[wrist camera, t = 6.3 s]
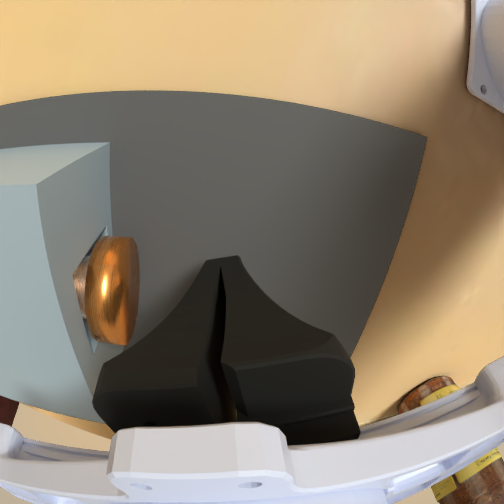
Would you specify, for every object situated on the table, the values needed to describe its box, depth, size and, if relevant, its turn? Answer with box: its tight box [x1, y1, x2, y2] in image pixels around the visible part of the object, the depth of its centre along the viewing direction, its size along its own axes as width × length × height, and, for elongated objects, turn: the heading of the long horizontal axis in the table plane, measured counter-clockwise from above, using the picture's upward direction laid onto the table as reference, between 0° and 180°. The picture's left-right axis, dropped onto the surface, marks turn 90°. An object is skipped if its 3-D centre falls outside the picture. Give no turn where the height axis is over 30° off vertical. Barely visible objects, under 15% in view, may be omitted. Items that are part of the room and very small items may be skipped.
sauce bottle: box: [398, 376, 504, 504], centre depth 14 cm, size 6×6×20 cm
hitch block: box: [0, 142, 124, 424], centre depth 10 cm, size 6×10×6 cm, turn 173°
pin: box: [72, 236, 140, 345], centre depth 10 cm, size 11×4×4 cm, turn 83°
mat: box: [0, 91, 427, 357], centre depth 13 cm, size 20×14×1 cm
